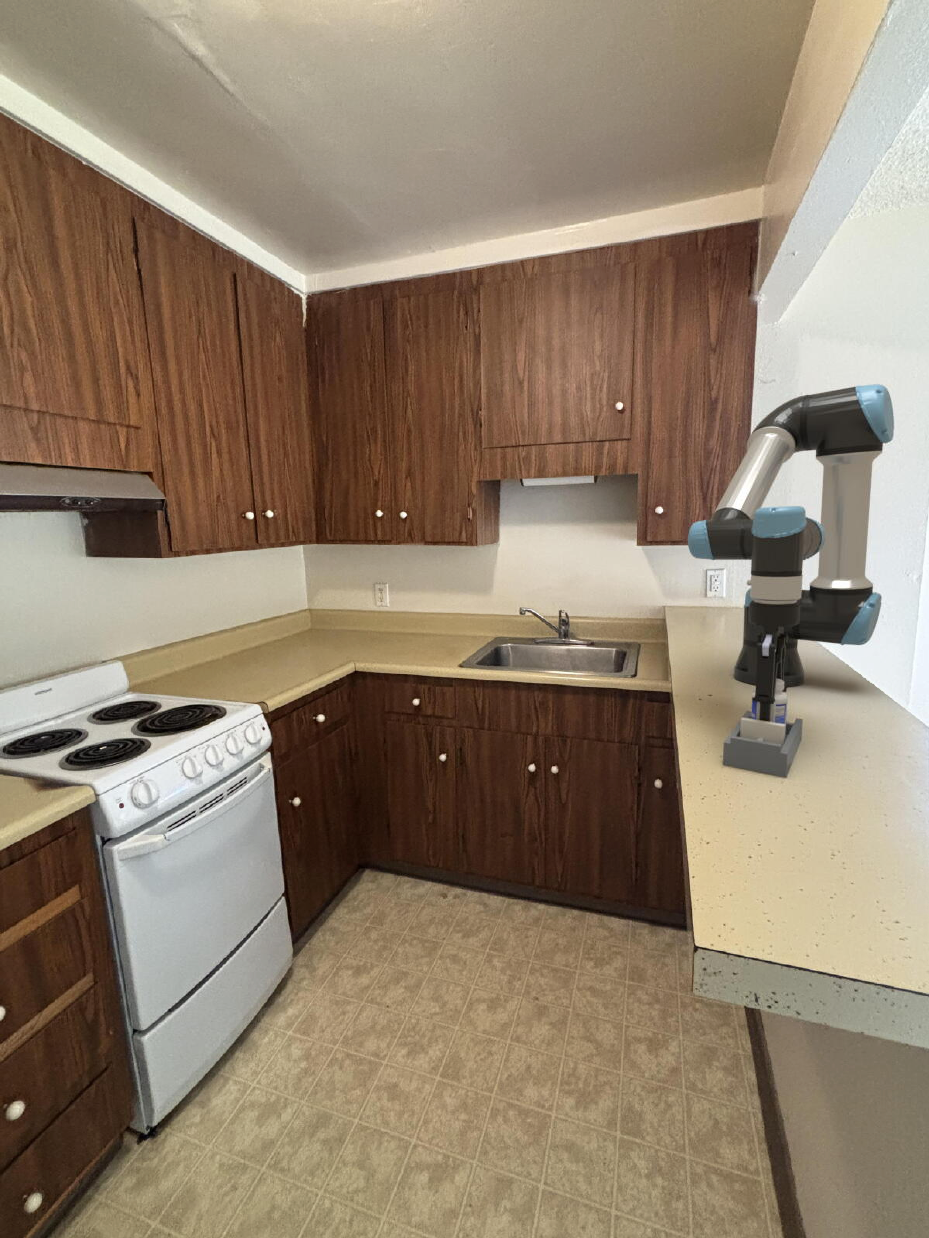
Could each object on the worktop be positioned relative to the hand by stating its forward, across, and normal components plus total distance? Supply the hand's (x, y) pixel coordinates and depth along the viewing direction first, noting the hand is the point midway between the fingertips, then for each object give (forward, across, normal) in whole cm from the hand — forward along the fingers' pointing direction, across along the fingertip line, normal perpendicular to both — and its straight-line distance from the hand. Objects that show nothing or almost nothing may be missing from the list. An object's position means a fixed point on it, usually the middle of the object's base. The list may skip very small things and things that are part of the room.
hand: (767, 732), depth 98 cm
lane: (+2, +3, 0) cm, 4 cm away
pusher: (+1, +7, 0) cm, 8 cm away
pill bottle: (+1, 0, 0) cm, 1 cm away
